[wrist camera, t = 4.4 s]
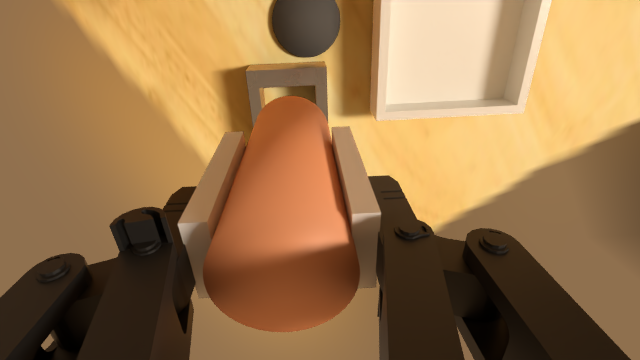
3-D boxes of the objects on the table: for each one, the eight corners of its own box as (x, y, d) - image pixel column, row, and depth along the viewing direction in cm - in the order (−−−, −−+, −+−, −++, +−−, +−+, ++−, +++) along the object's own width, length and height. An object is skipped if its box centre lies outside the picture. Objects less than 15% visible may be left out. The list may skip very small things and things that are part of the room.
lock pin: (249, 98, 18) (186, 219, 8) (327, 93, 18) (360, 208, 8) (259, 168, 19) (218, 337, 10) (330, 163, 19) (359, 326, 10)
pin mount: (249, 65, 32) (245, 71, 30) (324, 61, 32) (326, 67, 30) (260, 144, 36) (257, 155, 33) (326, 140, 36) (328, 151, 33)
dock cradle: (375, -56, 28) (383, -62, 25) (541, -62, 29) (568, -69, 26) (369, 110, 35) (376, 120, 32) (505, 103, 35) (523, 113, 32)
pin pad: (269, -16, 29) (268, -16, 29) (339, -19, 29) (339, -19, 29) (276, 58, 32) (275, 58, 32) (340, 55, 32) (340, 55, 32)
